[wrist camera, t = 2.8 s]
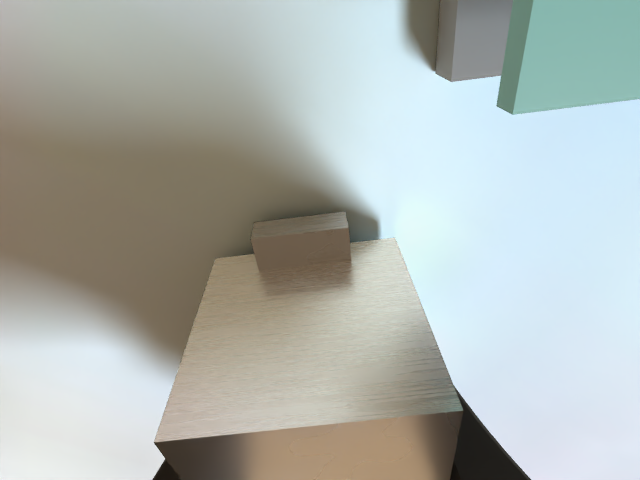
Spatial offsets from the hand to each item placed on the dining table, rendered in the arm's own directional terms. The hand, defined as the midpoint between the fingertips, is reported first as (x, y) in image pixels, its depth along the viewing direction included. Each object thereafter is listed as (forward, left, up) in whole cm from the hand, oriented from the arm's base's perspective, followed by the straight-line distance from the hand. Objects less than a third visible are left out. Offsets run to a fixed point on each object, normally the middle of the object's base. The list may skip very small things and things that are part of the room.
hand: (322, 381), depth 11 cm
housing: (0, 0, -1) cm, 1 cm away
